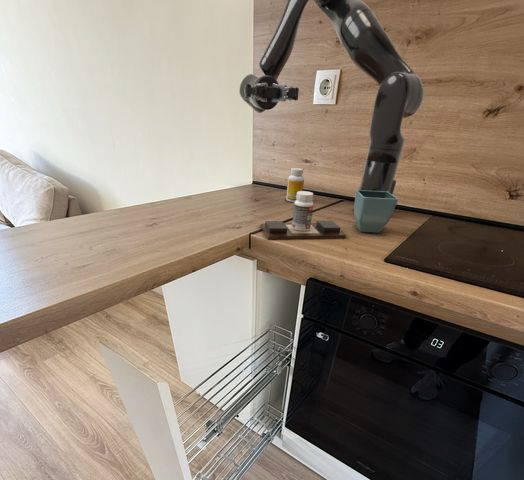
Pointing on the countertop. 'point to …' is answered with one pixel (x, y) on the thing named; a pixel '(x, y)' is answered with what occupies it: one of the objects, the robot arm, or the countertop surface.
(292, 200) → the supplement bottle
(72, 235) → the countertop surface
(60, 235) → the countertop surface
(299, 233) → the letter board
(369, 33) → the robot arm
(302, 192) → the pill bottle
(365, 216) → the flower pot
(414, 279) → the countertop surface
